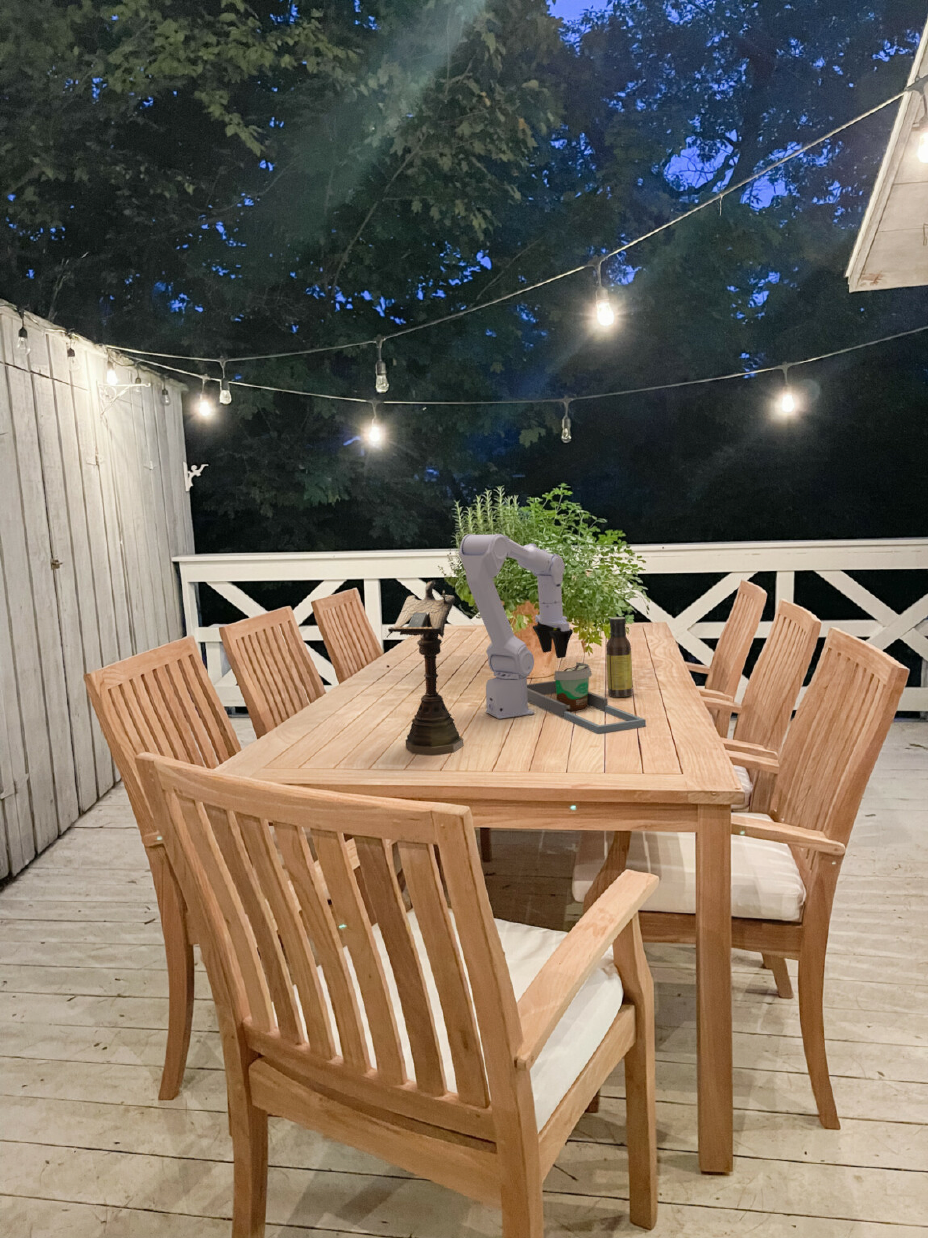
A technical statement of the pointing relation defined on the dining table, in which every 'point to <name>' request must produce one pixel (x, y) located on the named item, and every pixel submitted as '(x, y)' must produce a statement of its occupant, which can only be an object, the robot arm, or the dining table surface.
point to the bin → (554, 706)
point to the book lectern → (429, 674)
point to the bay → (630, 723)
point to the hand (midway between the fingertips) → (554, 654)
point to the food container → (573, 686)
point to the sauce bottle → (619, 660)
